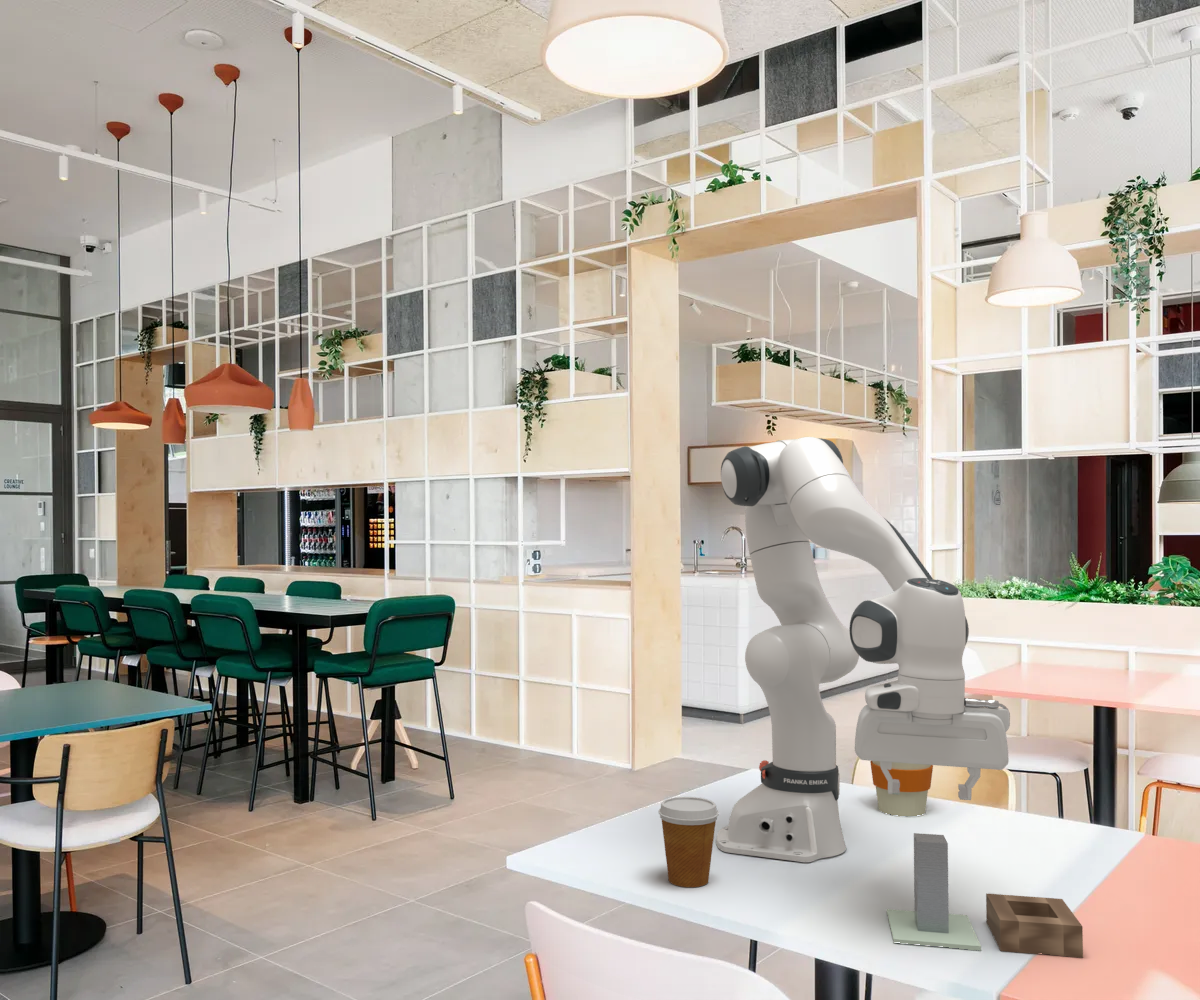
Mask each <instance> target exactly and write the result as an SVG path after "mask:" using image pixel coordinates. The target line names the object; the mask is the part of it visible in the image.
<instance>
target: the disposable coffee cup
mask: <svg viewBox="0 0 1200 1000" xmlns="http://www.w3.org/2000/svg"><path fill="white" fill-rule="evenodd" d="M719 812H720V811H719V810H717V805H716V803H715V802H714V801H712V800H710V799H707V798H702V797H695V796H678V797H671V798H670V797H669V798H666V799H665V800H662V801H661V804H660V808H659V809H658V815H659V818H660V819H661V824H662V826H661V827H662V828H661V829H662V835H663V843H664V852H665V854H664V855H665V861H666V862H665V863H666V868H667V877H668V881H669V883H671V884H672V885H674V886H676V887H681V888H699V887H702V886H706V885H707V884H708V883H709V881H710V880H709V879H710V871H711V870H710V869H711V863H712V854H713V848H714V847H713V845H714V838H715V830H716V821H717V820H718V816H719V814H720V813H719Z"/></svg>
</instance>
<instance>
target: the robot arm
mask: <svg viewBox="0 0 1200 1000" xmlns="http://www.w3.org/2000/svg"><path fill="white" fill-rule="evenodd" d="M720 481H721V486H722V490H723V493H724V495H725V496H726V498H727V500H729V501H730V502H731V503H732V504H734V505H736V506H742V507H745V508H744V518H745V519H744V520H745V521H744V522H745V534H746V541H747V543H746V544H747V549H748V555H749V557H750V563H751V566H752V572H753V576H754V580H755V585H756V590H757V594H758V596H759V598H760V599H761V601H763V603H764V604H765V605H767V606H768V607H769V608H770V609H771V610H772V611H773V612H774V614H775V616H776V617H777V619H778V621H779V623H780V625H775V626H772V627H769V628H767V629H764V630H762V631H760V632H759V633H758V632H757V634H755V635H754V636H752V637H751V638H750V640H749V641H748V643H747V646H746V647H745V648H746V649H745V655H744V660H745V661H744V662H745V666H746V670H747V672H748V674H749V675H750V677H751V678H752V680H753V681H754V682H755V684H756V683H757V684H758V686H759V687H760V689H761V691H762V692H763V695H764V697H765V701H766V703H767V707H768V710H769V711H768V712H769V716H770V723H771V745H772V746H771V747H772V749H771V750H772V761H771V762H770V761H768V760H765V759H764V760H761V761H760V763H759V765H758V770H759V771H760V782H761V784H759V785H758V786H756V787H755V788H754V789H752V790H751V791H749V792H748V793H746V794H745V795H744V796H743V797H741V798H739V800H738V801H736V802H735V804H734V805H733V807H732V809H731V811H730V815H729V821H728V825H726V826H724V827H722V828H721V829H719V831H717V834H716V840H715V841H716V842H715V843H716V846H717V848H718V849H719V850H720V851H723V852H724V853H729V854H730V853H731V854H738V855H746V856H752V857H758V858H759V857H762V858H767V859H776V860H783V861H793V862H801V863H811V862H814V861H817V860H819V859H825V858H832V857H835V856H838V855H841V854H843V853H845V851H846V849H847V845H846V842H845V838H844V835H843V831H842V829H843V828H842V825H841V819H840V812H839V805H838V804H839V802H838V800H839V798H840V787H841V786H840V784H841V781H840V779H841V778H840V772H839V766H838V765H837V724H836V722H835V719H834V718H833V716H832V715H831V714H830V713H829V712H827V710H826V708H825V706H824V703H823V700H822V696H821V690H820V685H821V684H827V683H832V682H835V681H838V680H840V679H841V678H843V677H845V676H847V675H848V674H850V673H851V672H853V670H854V669H855V668H856V666H857V664H858V662H859V659H860V657H861V659H862V660H864V661H866V662H869V663H873V664H879V665H889V664H897V665H898V673H897V679H895V680H893V681H889V682H885V683H880V684H876V685H872V686H869V687H867V688H866V689H865V691H864V693H865V694H864V698H865V699H864V700H865V703H866V705H864V706H863V707H862V708H861V710H860V712H859V714H858V718H857V722H856V723H857V724H856V728H855V735H854V737H855V738H854V752H855V755H856V756H857V758H859V759H860V760H862V761H869V762H870V761H880V767H881V770H882V771H883V773H884V775H885V777H886V779H887V781H888V794H896V795H900V790H899V788H900V782H899V780H897V779H892V777H891V775H890V773H889V771H888V770H891V769H892V762H896V763H910V764H924V765H933V766H940V767H953V768H954V767H955V768H966V769H967V770H966V771H967V772H968V774H969V776H968V777H967V780H966V781H965V783H963V784H962V783H958V784H957V785H958V786H957V787H958V791H957V793H958V794H957V795H958V798H959V800H963V801H972V791H973V790H972V789H973V788H974V787H975V785H976V784H977V783H978V781H979V779H980V778H981V772H982V771H981V769H982V770H983V769H984V770H998V771H1002V770H1004V769H1006V767H1007V766H1008V764H1009V762H1010V761H1009V760H1010V759H1009V744H1008V738H1007V731H1008V730H1009V728H1010V726H1011V725H1010V724H1011V713H1010V711H1009V708H1007V706H1005V705H1004V704H1002V703H1000V702H999V700H996V699H987V700H986V699H980V698H979V699H978V698H966V697H965V694H966V693H965V692H966V686H965V685H966V676H965V675H966V674H965V670H964V666H963V656H964V652H965V649H966V646H967V644H968V640H969V633H970V629H969V622H968V619H967V617H966V612H965V611H966V610H965V605H964V600H963V595H962V593H961V591H960V589H959V588H958V587H957V586H955V585H954V584H952V583H950V582H948V581H944V580H941V579H934V578H933V577H932V575H931V573H929V571H928V570H927V569H926V567H925V566H924V564H923V563H922V561H921V560H920V559H919V558H918V556H917V554H916V553H915V552H914V550H913V549H912V547H910V545H909V544H908V542H907V541H906V539H905V538H904V537H903V535H902V534H901V533H900V532H899V531H898V529H897V528H896V527H895V526H894V525H893V524H892V523H891V522H890V521H888V519H887V518H885V517H884V516H882V515H881V513H880V512H878V511H877V510H876V509H875V508H874V507H873V506H872V504H870V503H869V502H868V500H867V499H866V498H865V497H864V495H863V494H862V493H861V491H860V490H859V488H858V487H857V485H856V483H855V482H854V479H853V478H852V476H851V475H850V473H849V471H848V470H847V468H846V467H845V465H844V460H843V456H842V453H841V451H840V449H839V447H838V446H837V445H836V444H835V443H834V442H833V441H832V440H829V439H827V438H822V437H821V438H820V437H815V436H804V437H800V438H797V439H796V438H794V439H793V438H791V439H780V440H779V439H778V440H776V441H772V442H765V443H761V444H756V445H752V446H745V445H744V446H741V447H738V448H735V449H732V450H731V451H729V452H727V453H726V455H725V457H724V458H723V460H722V462H721V467H720ZM810 542H812V543H814V544H815V545H817V546H819V547H822V548H824V549H827V550H830V551H835V552H839V553H842V554H846V555H849V556H851V557H854V558H857V559H859V560H862V561H864V562H866V563H867V564H869V565H871V566H872V567H874V568H875V569H876V570H877V571H878V572H880V574H881V575H882V576H883V578H884V579H885V580H886V583H888V586H890V588H891V590H892V591H893V592H890V593H888V594H885V595H881V596H879V597H875V598H871V599H867V600H863V601H862V602H860V603H859V604H858V605H857V606H856V607H855V608H854V610H853V613H852V614H851V617H850V620H849V628H847V627H846V626H845V625H844V624H843V623H842V621H840V619H839V618H838V616H837V615H836V614H837V613H835V611H834V609H833V607H832V605H831V604H830V601H829V600H828V598H827V596H826V594H825V591H824V590H823V587H822V585H821V581H820V578H819V575H818V570H817V566H816V564H815V559H814V556H813V555H814V554H813V551H812V547H811V543H810ZM999 707H1000V708H999Z"/></svg>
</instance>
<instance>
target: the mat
mask: <svg viewBox="0 0 1200 1000" xmlns="http://www.w3.org/2000/svg"><path fill="white" fill-rule="evenodd" d="M887 915H888V917H887V920H888V919H889V921H888V925H889V924H890V925H889V929H890V928H891V929H890V933H891V932H892V934H891V937H892V936H893V938H892V940H894V942H900V943H908V944H920V945H930V946H943V947H949V948H948V949H952V948H959V949H958V950H964V949H968V950H967V951H976V950H977V951H978V950H979V951H978V952H981V951H982V945H981V943H980V941H979V939H978V937H977V934H976V932H975V930H974V928H973V925H972V922H971V921H970V919H969V917H968V915H967V914H966V915H965V914H954V913H949V933H936V932H924V931H918V930H917V927H916V923H915V918H914V910H903V909H893V908H892V909H891V908H886V916H887ZM894 942H893V943H894Z"/></svg>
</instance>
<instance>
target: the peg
mask: <svg viewBox="0 0 1200 1000" xmlns="http://www.w3.org/2000/svg"><path fill="white" fill-rule="evenodd" d="M913 888H914V889H913V890H914V891H913V893H914V896H913V898H914V900H913V901H914V902H913V903H914V906H913V907H914V910H913V911H914V918H915V923H916V927H917V930H918V931H924V932H936V933H949V914H950V913H949V911H950V910H949V843H948V842H947V839H946V836H945V835H944V834H937V833H935V834H933V833H917V832H914V833H913Z"/></svg>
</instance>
